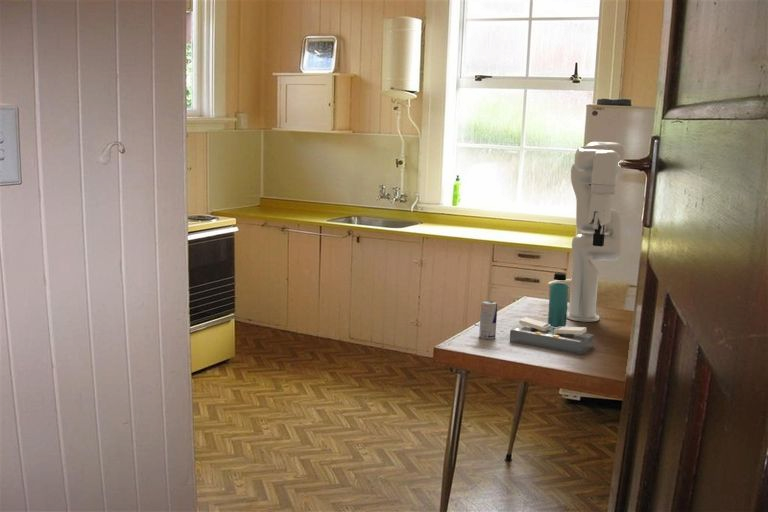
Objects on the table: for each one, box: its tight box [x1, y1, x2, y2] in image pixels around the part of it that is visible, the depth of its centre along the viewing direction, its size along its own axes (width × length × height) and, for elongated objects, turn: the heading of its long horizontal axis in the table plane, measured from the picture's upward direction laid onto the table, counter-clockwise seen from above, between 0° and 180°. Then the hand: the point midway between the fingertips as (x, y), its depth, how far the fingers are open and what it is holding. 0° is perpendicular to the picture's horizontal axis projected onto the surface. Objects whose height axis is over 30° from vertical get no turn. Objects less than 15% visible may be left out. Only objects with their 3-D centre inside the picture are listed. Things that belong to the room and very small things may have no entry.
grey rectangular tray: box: [509, 324, 595, 356], centre depth 258 cm, size 12×24×5 cm, turn 58°
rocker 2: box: [554, 326, 587, 334], centre depth 254 cm, size 5×9×1 cm, turn 58°
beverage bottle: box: [546, 272, 570, 328], centre depth 275 cm, size 6×7×20 cm
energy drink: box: [478, 300, 498, 340], centre depth 262 cm, size 5×5×12 cm
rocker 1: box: [518, 316, 551, 331], centre depth 260 cm, size 5×9×1 cm, turn 58°
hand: (598, 245), depth 259 cm, fingers closed
